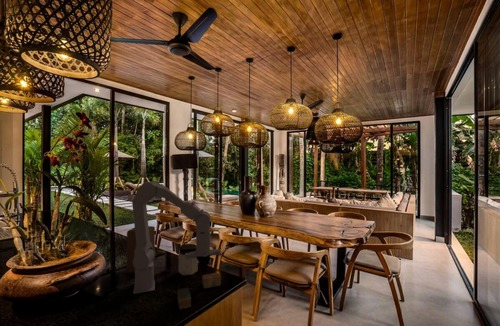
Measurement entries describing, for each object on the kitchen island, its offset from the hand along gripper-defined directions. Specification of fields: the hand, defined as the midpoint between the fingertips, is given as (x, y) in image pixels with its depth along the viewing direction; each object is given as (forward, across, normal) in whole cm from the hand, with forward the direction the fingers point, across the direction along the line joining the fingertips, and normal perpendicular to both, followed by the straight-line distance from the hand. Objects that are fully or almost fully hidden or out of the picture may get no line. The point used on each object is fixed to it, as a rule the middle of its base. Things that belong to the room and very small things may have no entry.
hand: (203, 273), depth 106 cm
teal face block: (+3, -9, -7) cm, 12 cm away
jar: (+5, -4, +17) cm, 18 cm away
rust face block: (+3, 0, 0) cm, 3 cm away
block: (+5, -25, +28) cm, 38 cm away
